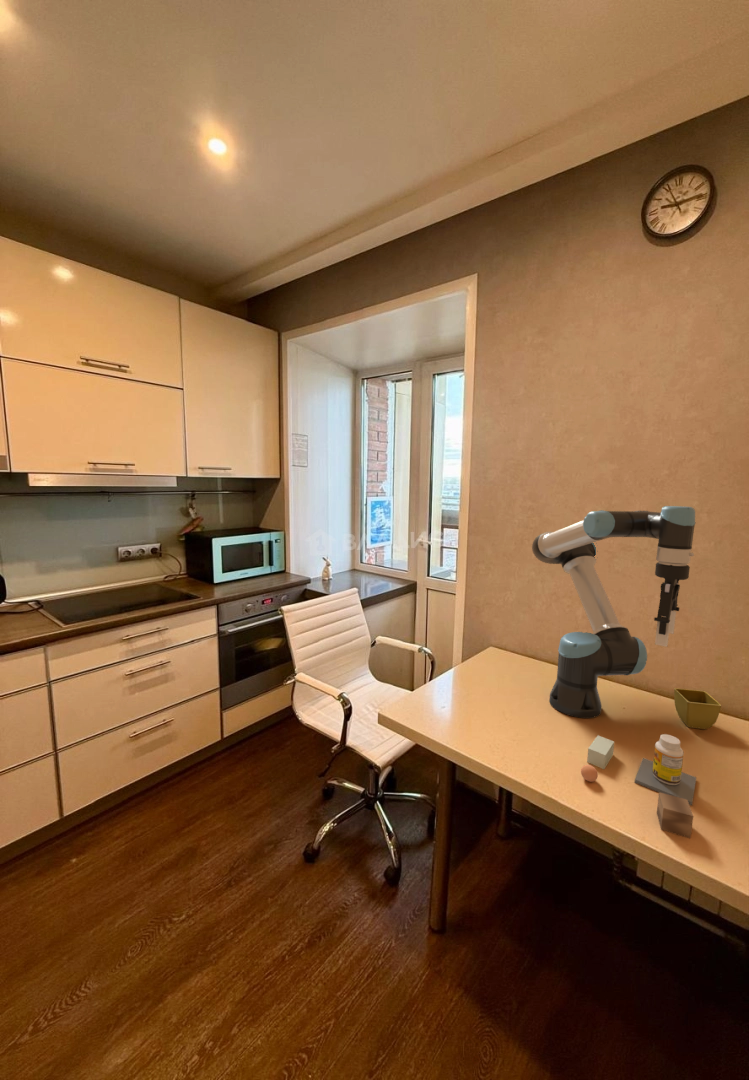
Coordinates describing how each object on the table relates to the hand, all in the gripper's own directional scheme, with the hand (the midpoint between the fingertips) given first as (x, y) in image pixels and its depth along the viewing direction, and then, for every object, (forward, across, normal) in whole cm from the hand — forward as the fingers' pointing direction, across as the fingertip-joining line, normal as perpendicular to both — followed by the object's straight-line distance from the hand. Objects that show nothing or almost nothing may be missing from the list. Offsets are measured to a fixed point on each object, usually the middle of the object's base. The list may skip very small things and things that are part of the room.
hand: (664, 638), depth 117 cm
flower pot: (+29, +15, -8) cm, 34 cm away
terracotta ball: (+27, -33, +9) cm, 44 cm away
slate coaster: (+29, -21, -5) cm, 36 cm away
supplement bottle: (+28, -21, -5) cm, 35 cm away
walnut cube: (+29, -36, -8) cm, 47 cm away
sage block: (+29, -22, +9) cm, 37 cm away
